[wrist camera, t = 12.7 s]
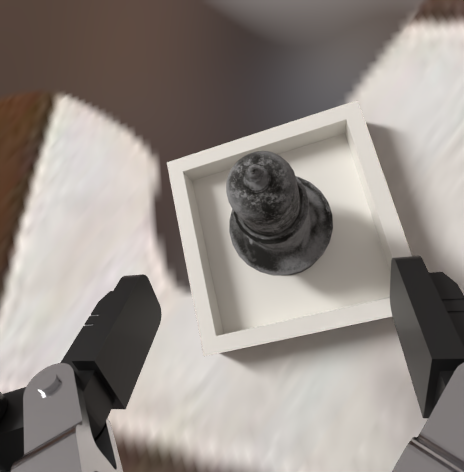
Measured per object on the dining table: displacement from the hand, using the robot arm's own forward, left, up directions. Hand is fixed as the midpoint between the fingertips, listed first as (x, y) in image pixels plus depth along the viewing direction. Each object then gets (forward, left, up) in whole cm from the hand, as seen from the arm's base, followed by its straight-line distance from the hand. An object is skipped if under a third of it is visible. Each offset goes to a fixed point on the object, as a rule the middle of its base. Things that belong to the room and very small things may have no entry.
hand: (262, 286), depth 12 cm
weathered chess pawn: (-1, -4, -12) cm, 12 cm away
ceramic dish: (-1, -4, -12) cm, 13 cm away
